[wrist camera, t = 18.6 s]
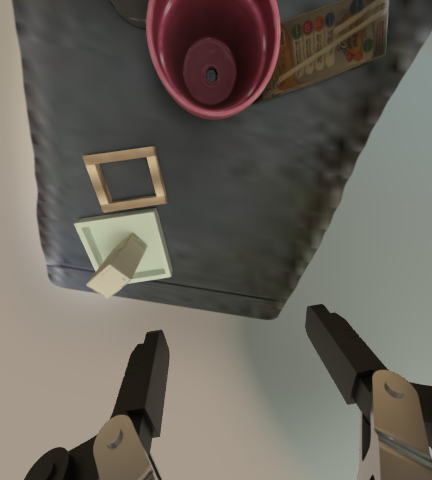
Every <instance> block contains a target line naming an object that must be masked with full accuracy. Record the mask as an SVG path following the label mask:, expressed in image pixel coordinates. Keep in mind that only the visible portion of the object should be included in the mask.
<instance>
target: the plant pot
mask: <svg viewBox="0 0 432 480" xmlns="http://www.w3.org/2000/svg"><path fill="white" fill-rule="evenodd" d="M146 33H147V42H148V48H149V52H150V56H151V59H152V62H153V65H154V67H155V70H156V72H157V74H158V76H159V78H160V80H161V82H162V84H163V85H164V87H165V89H166V90H167V92H168V93H169V94H170V96H171V97H172V98H173V99H174V100H175V101H176V102H177V104H179V105H180V106H181V107H182V108H183V109H185V110H186V111H187V112H189V113H191V114H193V115H195V116H197V117H200V118H203V119H208V120H221V119H226V118H229V117H232V116H234V115H236V114H238V113H240V112H241V111H243V110H244V109H246V108H247V107H248V106H249V105H251V104H252V103H253V102H254V101H255V100H256V99H257V98H258V97H259V95H260V94H261V93H262V92H263V90H264V89H265V87H266V86H267V84H268V82H269V80H270V78H271V76H272V74H273V71H274V69H275V66H276V62H277V59H278V54H279V48H280V36H281V28H280V17H279V10H278V6H277V2H276V0H149V3H148V9H147V18H146ZM209 69H214V70H216V72H217V75H218V77H217V80H216V81H214V82H209V81H208V80H207V78H206V72H207V71H208V70H209Z"/></svg>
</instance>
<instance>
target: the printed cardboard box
mask: <svg viewBox="0 0 432 480" xmlns="http://www.w3.org/2000/svg"><path fill="white" fill-rule="evenodd" d="M388 8H389V0H340V1H338V2H334V3H332V4H329V5H326V6H323V7H320V8H318V9H315V10H312V11H309V12H306V13H304V14H301V15H298V16H295V17H293V18H290V19H287V20H285V21H282V22H280V28H281V36H280V48H279V54H278V59H277V62H276V66H275V69H274V71H273V74H272V76H271V78H270V80H269V82H268V84H267V86H266V87H265V89H264V90H263V92H262V93H261V94H260V95H259V97H258V98H257V99H256V100H255V101H254V102H253V103H252V104H257V103H260V102H264V101H266V100H270V99H272V98H276V97H279V96H282V95H284V94H287V93H290V92H293V91H296V90H299V89H302V88H304V87H307V86H310V85H313V84H316V83H318V82H321V81H323V80H326V79H328V78H330V77H333V76H335V75H338V74H340V73H342V72H344V71H347V70H351V69H354V68H358V67H362V66H364V65H366V64H368V63H371V62H372V61H374V60H376V59H378V58H381V57H382V56H384V55H385V54H386V41H387V23H388Z"/></svg>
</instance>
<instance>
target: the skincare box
mask: <svg viewBox="0 0 432 480" xmlns="http://www.w3.org/2000/svg"><path fill="white" fill-rule="evenodd" d="M146 248H147V245H146V244H145V243H144V242H143V241H142V240H141V239H140V238H138V237H137V236H136V235H135V234H134V233H131V234H130V235H129V236H128V237H126V238H125V239H124V240H123V241H122V242H121V243H119V244H118V245H117V246H116V247H115V248H114V249H113V250H112V251H111V253H110V254H109V255H108V256H107V258H106V259H105V260H104V262H103V263H102V264H101V266H100V267H99V268H98V270H97V271H96V272H95V274H94V275H93V276H92V278H91V279H90V280H89V282H88V283H87V284H86V285H87V286H88V287H90V288H91V289H92V290H94V291H95V292H97V293H98V294H100V295H101V296H103V297H104V298H106V299H109V298H110V297H111V296H113V295H114V294H115V293H117V292H118V291H119V290H120V289H121V288H123V287H124V286H125V285H126V284H127V283H129V282H130V281H131V280H132V278H133V276H134V273H135V271H136V269H137V267H138V265H139V263H140V261H141V259H142V257H143V254H144V252H145V250H146Z"/></svg>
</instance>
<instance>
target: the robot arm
mask: <svg viewBox="0 0 432 480" xmlns="http://www.w3.org/2000/svg"><path fill="white" fill-rule="evenodd" d="M110 1H111V2H112V4H113V6H114V7H115V9H116V10H117V12H118V13H119V14H120V15H121V16H122V17H123V18H124V19H125V20H126V21H127V22H129V23H130V24H132V25H134V26H136V27H140V28H146V18H147V9H148V3H149V0H110ZM305 327H306V332H307V335H308V337H309V339H310V341H311V342H312V344H313V346H314V348H315V349H316V351H317V353H318V354H319V356H320V358H321V360H322V361H323V363H324V365H325V367H326V368H327V370H328V372H329V374H330V375H331V377H332V379H333V380H334V382H335V384H336V385H337V387H338V389H339V391H340V392H341V394H342V396H343V398H344V399H345V401H346V403H347V404H354V403H356V404H357V405H358V407H359V409H360V410H361V412H360V461H359V471H358V479H357V480H432V458H431V456H430V451H429V447H431V449H432V386H427V385H421V384H415V383H411V382H408V381H407V380H406V379H405V378H403V377H402V376H400V375H399V374H397V373H395V372H392V371H389V370H388V369H387V368H386V367H385V366H384V365H383V364H382V362H381V361H380V360H379V359H378V358H377V356H376V355H375V354H374V353H373V352H372V351H371V350H370V348H369V347H368V346H367V345H366V343H365V342H364V341H363V340H362V339H361V338H360V337H359V335H358V334H357V333H356V332H355V330H353V328H352V327H351V326H350V325H349V323H348V322H347V321H346V320H345V319H344V318H342V317H341V316H339V315H338V314H336V313H330V312H329V311H328V310H327V308H326V307H325V306H324V305H322V304H319V305H313V306H308V307H307V313H306V324H305ZM168 367H169V348H168V345H167V342H166V339H165V336H164V333H163V331H162V330H156V331H150V332H147V334H146V337H145V340H144V343H143V344H138V345H137V346H136V348H135V349H134V351H133V352H132V353H131V355H130V359H129V362H128V367H127V368H126V372H125V376H124V378H123V381H122V385H121V388H120V391H119V394H118V397H117V401H116V404H115V407H114V410H113V413H112V416H111V418H110V420H109V421H107V422H106V423H105V424H104V426H103V427H102V428H101V429H100V431H99V433H98V434H97V435H96V436H94V437H93V438H91V439H90V440H88V441H86V442H85V443H83V444H81V445H79V446H77V447H75V448H74V449H72V450H70V451H67V450H66V449H65V448H62V447H58V448H54V449H52V450H50V451H48V452H47V453H45V454H44V455H43V456H42V457H41V458H40V459H38V461H37V462H36V463H35V464H34V465H33V466H32V468H31V469H30V471H29V472H28V474H27V475H26V477H25V479H24V480H163V479H162V477H161V475H160V473H159V470H158V468H157V466H156V464H155V462H154V459H153V457H152V455H151V453H150V448H151V441H152V438H154V437H160V430H161V423H162V415H163V407H164V398H165V391H166V382H167V374H168Z"/></svg>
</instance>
